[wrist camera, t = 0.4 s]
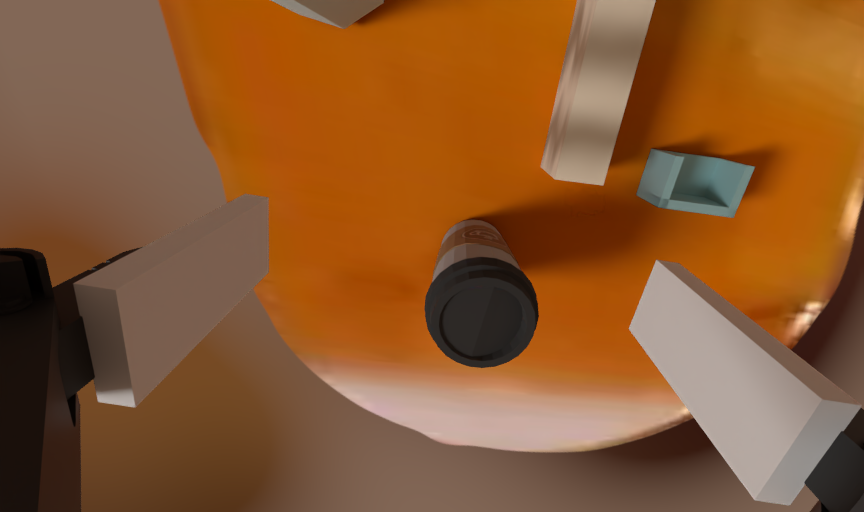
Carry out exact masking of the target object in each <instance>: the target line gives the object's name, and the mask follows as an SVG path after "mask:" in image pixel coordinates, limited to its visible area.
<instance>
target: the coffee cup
mask: <svg viewBox="0 0 864 512" xmlns="http://www.w3.org/2000/svg"><path fill="white" fill-rule="evenodd" d="M538 316H539V315H538V303H537V298H536V293H535V291H534V288H533V286H532V283H531V282H530V280H529V279H528V278H527V277H526V276H525V274H524V273H523V272H522V271H521V269H520V267H519V265H518V262H517V260H516V259H515V257H514V255H513V254H512V252H511V250H510V248H509V247H508V245H507V243H506V242H505V241H504V239H503V238H502V236H501V234H500V233H499V232H498V230H497V229H496V228H495V227H493V226H492V225H491V224H489V223H487V222H484V221H481V220H473V219H472V220H465V221H462V222H460V223H457V224H456V225H454V226H453V227H452V228H450V229H449V231H448V232H447V233H446V235H445V236H444V239H443V241H442V245H441V248H440V251H439V253H438V257H437V261H436V264H435V268H434V272H433V281H432V283H431V285H430V288H429V290H428V292H427V295H426V300H425V317H426V322H427V327H428V330H429V332H430V334H431V336H432V338H433V340H434V341H435V342H436V344H437V346H438V347H439V348H440V349H441V350H442V352H443V353H444V354H445V355H446V356H448V357H449V358H451V359H453V360H454V361H456V362H458V363H461V364H463V365H466V366H470V367H479V368H485V367H494V366H498V365H501V364H504V363H507V362H509V361H510V360H512V359H514V358H515V357H517V356H518V355H519V354H520V353H521V352H522V351H523V350H524V349H525V348H526V347H527V346H528V344H529V342H530V341H531V339H532V337H533V334H534V331H535V329H536V325H537V321H538Z"/></svg>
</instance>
